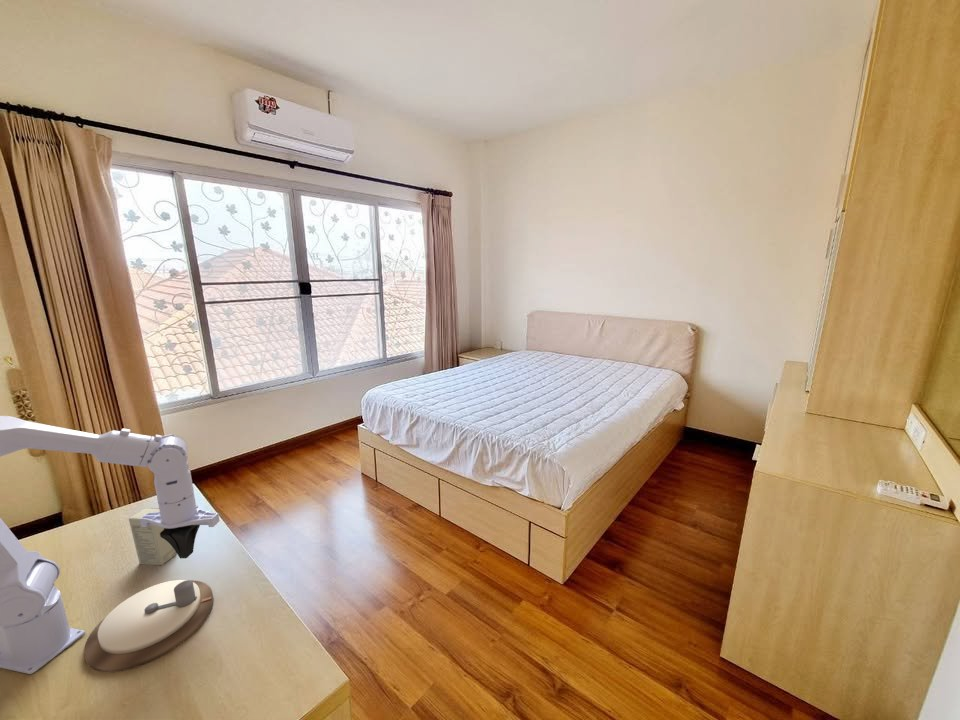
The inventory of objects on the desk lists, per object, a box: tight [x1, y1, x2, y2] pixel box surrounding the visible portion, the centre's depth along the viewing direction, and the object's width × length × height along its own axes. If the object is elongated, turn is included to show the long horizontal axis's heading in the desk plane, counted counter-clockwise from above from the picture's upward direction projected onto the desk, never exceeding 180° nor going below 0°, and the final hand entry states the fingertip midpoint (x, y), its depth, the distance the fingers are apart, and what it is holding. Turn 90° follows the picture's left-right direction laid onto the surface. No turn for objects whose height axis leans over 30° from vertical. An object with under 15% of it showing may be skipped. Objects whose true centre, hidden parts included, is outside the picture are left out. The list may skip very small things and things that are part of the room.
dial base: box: [83, 579, 215, 673], centre depth 74 cm, size 19×19×1 cm
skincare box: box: [128, 507, 178, 566], centre depth 90 cm, size 6×4×12 cm
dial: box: [98, 579, 201, 654], centre depth 73 cm, size 15×15×5 cm
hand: (186, 555), depth 79 cm, fingers closed
